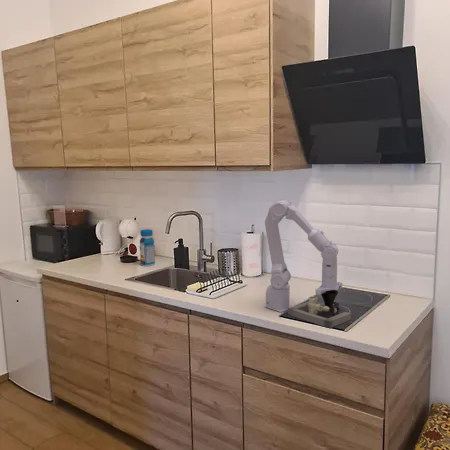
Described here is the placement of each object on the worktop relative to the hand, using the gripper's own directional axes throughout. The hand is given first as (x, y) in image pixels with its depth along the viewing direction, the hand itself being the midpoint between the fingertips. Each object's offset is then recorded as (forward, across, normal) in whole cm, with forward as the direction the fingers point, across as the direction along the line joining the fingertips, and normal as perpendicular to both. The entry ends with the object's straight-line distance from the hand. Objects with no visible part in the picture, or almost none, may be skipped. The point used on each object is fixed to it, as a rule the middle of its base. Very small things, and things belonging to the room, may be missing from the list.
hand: (328, 308), depth 185 cm
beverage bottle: (+2, -8, +120) cm, 120 cm away
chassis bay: (+2, -6, 0) cm, 6 cm away
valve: (+2, -4, 0) cm, 5 cm away
